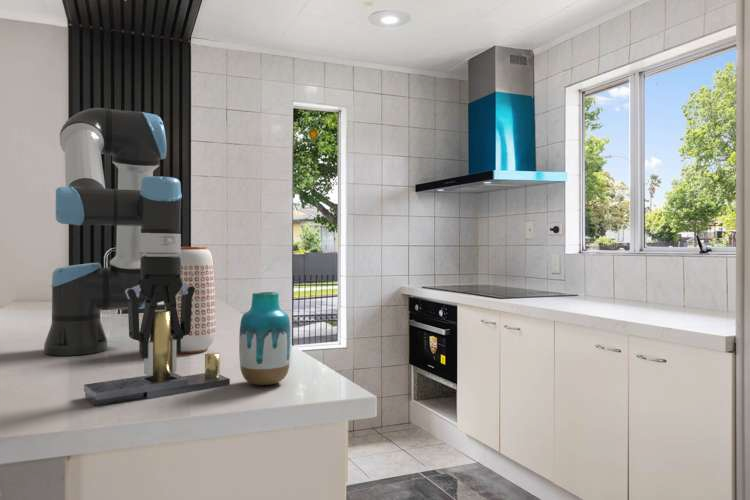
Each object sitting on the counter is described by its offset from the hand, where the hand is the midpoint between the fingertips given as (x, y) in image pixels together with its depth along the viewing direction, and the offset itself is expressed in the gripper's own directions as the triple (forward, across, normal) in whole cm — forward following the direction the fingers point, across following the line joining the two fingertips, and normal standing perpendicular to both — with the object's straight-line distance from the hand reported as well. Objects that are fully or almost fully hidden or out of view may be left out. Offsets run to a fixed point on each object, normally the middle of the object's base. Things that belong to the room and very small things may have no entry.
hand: (160, 372), depth 115 cm
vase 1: (+4, +22, +37) cm, 43 cm away
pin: (+2, 0, 0) cm, 2 cm away
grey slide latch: (+4, 0, 0) cm, 4 cm away
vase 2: (+4, +19, -8) cm, 21 cm away
